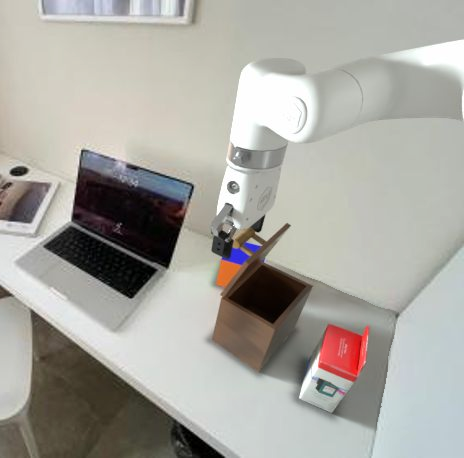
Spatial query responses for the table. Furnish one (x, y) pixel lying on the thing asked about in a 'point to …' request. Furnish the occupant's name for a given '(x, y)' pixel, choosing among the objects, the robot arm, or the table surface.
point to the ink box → (334, 367)
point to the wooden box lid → (252, 253)
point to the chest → (260, 314)
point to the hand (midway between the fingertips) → (236, 241)
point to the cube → (233, 264)
